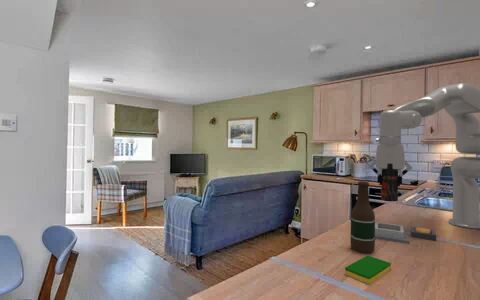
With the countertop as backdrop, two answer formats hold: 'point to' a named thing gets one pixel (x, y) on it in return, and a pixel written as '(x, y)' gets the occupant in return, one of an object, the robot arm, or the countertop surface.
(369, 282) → the dish sponge
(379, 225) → the grey rectangular tray
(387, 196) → the deodorant
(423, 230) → the button
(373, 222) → the beer bottle
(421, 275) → the countertop surface
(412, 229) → the button housing
